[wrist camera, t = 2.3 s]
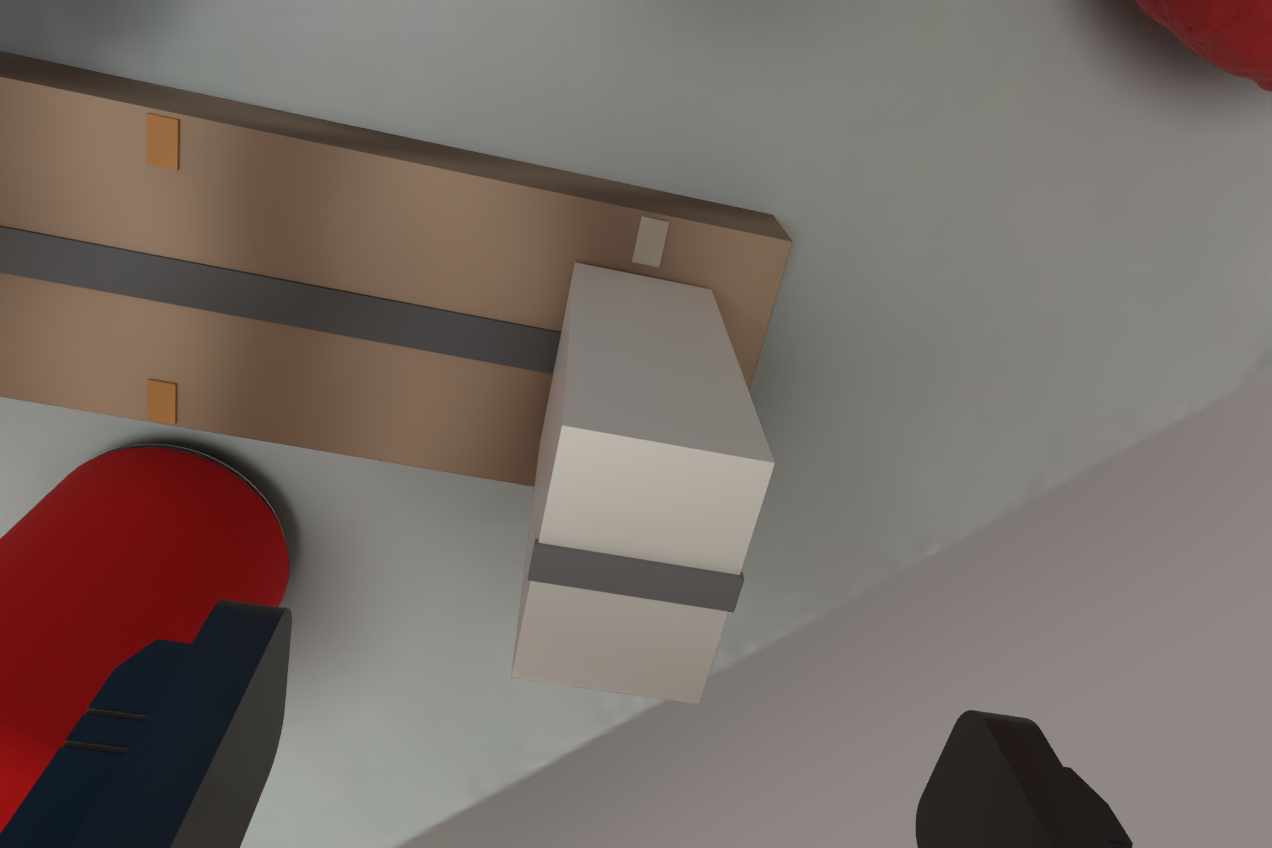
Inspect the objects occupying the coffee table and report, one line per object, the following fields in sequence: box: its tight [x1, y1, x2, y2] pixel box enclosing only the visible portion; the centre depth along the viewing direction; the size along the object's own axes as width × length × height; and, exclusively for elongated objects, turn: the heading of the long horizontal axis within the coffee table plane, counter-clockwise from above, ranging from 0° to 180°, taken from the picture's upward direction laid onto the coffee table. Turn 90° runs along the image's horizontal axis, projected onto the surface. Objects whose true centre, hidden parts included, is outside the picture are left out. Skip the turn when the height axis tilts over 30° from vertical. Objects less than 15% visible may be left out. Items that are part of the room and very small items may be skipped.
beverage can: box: [0, 444, 289, 833], centre depth 20 cm, size 6×6×12 cm
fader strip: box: [0, 52, 792, 487], centre depth 21 cm, size 20×7×3 cm, turn 78°
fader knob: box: [511, 262, 775, 704], centre depth 17 cm, size 3×4×8 cm
